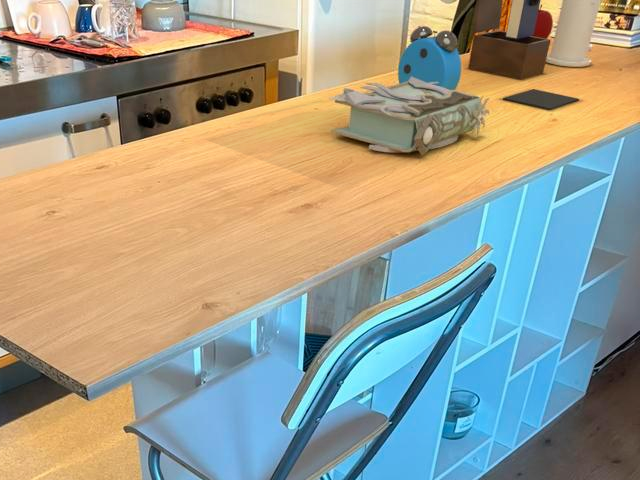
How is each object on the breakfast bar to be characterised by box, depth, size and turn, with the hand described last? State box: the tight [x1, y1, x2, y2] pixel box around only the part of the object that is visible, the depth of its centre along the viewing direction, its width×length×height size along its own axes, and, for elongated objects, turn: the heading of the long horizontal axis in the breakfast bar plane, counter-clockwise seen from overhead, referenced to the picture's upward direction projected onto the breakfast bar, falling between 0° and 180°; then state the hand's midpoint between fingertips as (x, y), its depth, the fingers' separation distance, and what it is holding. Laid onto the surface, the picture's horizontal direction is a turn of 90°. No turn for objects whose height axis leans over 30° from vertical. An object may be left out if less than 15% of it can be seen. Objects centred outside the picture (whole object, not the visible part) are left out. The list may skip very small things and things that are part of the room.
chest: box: [467, 29, 552, 81], centre depth 211 cm, size 16×12×8 cm
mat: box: [502, 88, 580, 111], centre depth 190 cm, size 14×12×1 cm
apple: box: [533, 4, 554, 39], centre depth 243 cm, size 9×9×10 cm
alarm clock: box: [397, 25, 462, 90], centre depth 178 cm, size 13×6×15 cm, turn 43°
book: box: [505, 0, 542, 40], centre depth 203 cm, size 8×4×12 cm, turn 136°
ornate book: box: [327, 76, 491, 157], centre depth 160 cm, size 23×10×30 cm
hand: (525, 3), depth 203 cm, fingers closed on book, 3 cm apart
